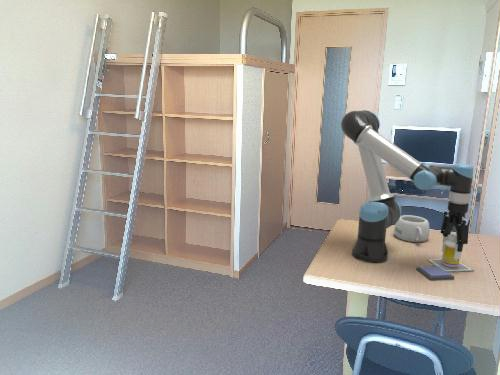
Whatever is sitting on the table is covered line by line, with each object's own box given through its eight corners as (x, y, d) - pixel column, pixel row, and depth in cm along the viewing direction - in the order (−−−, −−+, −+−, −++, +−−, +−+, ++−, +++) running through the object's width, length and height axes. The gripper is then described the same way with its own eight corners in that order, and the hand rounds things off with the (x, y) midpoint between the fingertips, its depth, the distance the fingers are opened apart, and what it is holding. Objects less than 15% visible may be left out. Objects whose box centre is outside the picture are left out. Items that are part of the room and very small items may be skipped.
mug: (389, 231, 223) (391, 213, 221) (421, 233, 222) (424, 214, 220) (401, 246, 202) (404, 226, 200) (437, 247, 201) (440, 227, 199)
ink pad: (430, 280, 165) (430, 276, 164) (416, 270, 174) (416, 266, 174) (453, 279, 166) (454, 275, 166) (438, 269, 176) (439, 265, 176)
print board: (444, 272, 173) (445, 271, 173) (426, 260, 185) (426, 259, 185) (473, 271, 175) (473, 270, 175) (453, 259, 187) (454, 258, 187)
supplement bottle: (460, 268, 176) (464, 239, 173) (443, 267, 177) (447, 237, 175) (456, 262, 183) (460, 234, 180) (439, 260, 184) (443, 232, 181)
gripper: (483, 208, 165) (475, 263, 170) (451, 195, 184) (444, 246, 189) (466, 208, 164) (458, 264, 169) (435, 196, 183) (429, 246, 188)
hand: (451, 254), depth 179 cm, fingers open, 7 cm apart
